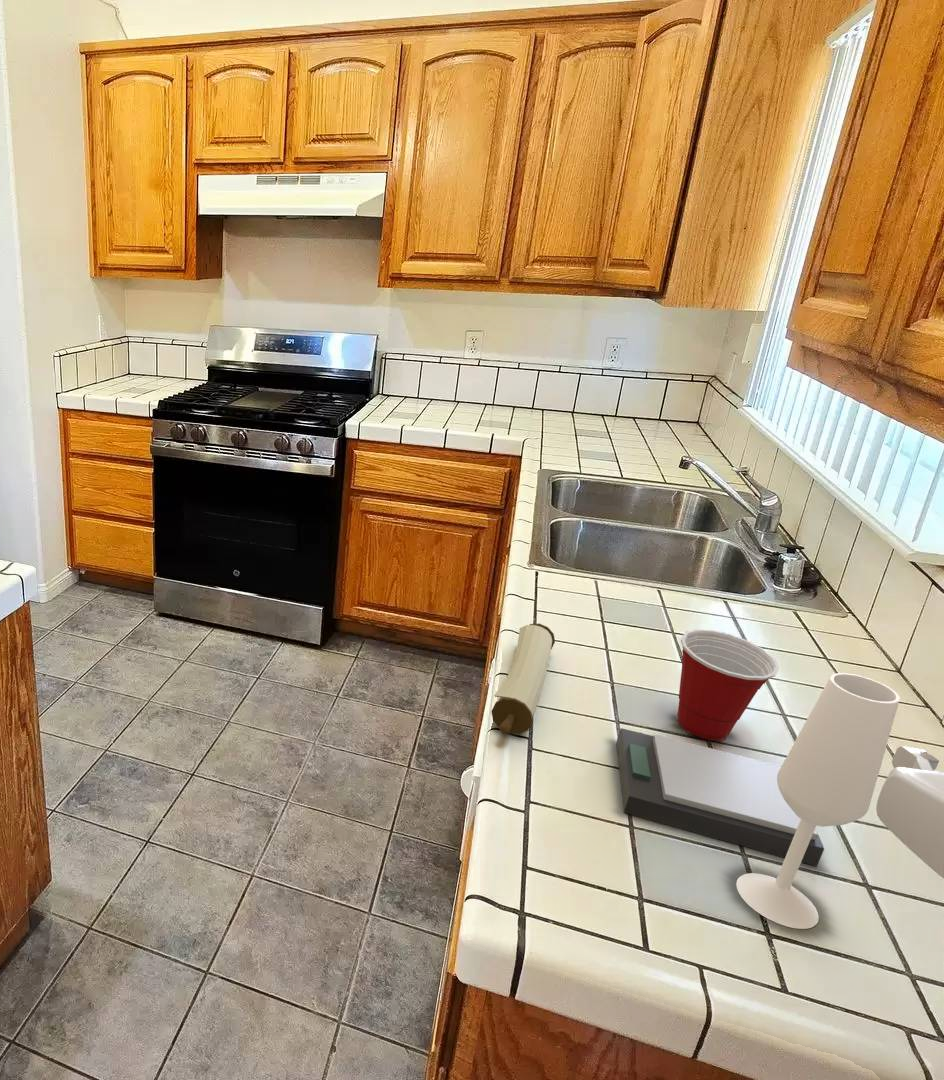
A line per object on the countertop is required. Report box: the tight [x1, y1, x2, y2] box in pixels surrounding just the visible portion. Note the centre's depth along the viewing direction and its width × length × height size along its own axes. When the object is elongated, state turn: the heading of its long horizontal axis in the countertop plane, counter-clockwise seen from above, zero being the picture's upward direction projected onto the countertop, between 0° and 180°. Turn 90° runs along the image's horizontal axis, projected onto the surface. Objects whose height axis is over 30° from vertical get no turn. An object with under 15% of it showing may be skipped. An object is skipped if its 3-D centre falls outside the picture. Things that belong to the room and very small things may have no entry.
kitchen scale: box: [616, 727, 825, 867], centre depth 86 cm, size 18×14×3 cm
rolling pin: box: [491, 623, 556, 735], centre depth 106 cm, size 32×6×5 cm, turn 151°
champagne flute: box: [735, 672, 901, 930], centre depth 69 cm, size 7×7×24 cm
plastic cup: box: [677, 628, 780, 741], centre depth 97 cm, size 11×11×12 cm
